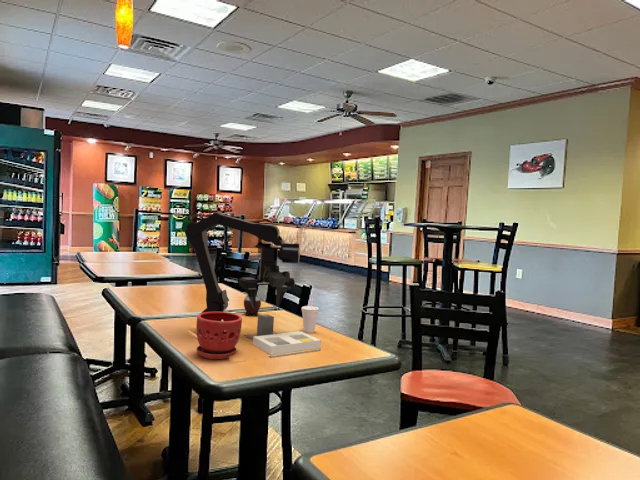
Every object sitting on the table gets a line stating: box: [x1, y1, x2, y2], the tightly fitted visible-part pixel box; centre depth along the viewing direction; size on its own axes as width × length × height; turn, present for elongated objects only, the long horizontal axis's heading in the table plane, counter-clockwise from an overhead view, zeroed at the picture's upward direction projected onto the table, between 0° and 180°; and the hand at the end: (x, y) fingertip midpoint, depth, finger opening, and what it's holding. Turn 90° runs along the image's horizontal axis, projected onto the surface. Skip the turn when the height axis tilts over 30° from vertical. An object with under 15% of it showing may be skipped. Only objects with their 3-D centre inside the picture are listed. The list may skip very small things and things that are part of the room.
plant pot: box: [196, 311, 243, 360], centre depth 141 cm, size 13×13×12 cm
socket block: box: [252, 330, 322, 359], centre depth 151 cm, size 18×12×4 cm, turn 125°
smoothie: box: [301, 295, 320, 334], centre depth 171 cm, size 6×6×14 cm
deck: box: [243, 331, 279, 341], centre depth 161 cm, size 12×9×1 cm
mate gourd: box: [243, 294, 262, 317], centre depth 196 cm, size 8×8×15 cm
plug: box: [256, 313, 275, 336], centre depth 161 cm, size 4×4×7 cm
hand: (266, 307), depth 161 cm, fingers open, 9 cm apart
